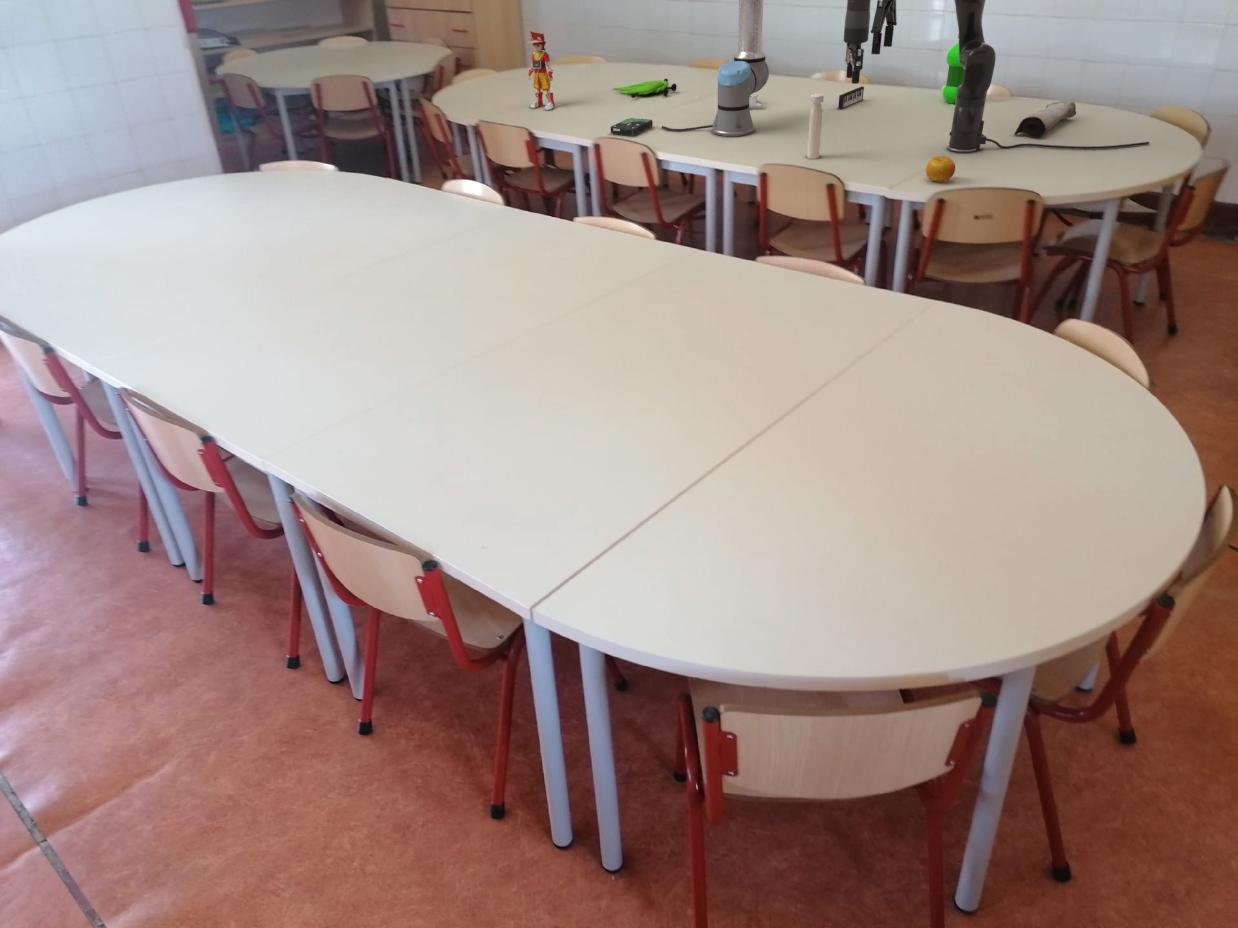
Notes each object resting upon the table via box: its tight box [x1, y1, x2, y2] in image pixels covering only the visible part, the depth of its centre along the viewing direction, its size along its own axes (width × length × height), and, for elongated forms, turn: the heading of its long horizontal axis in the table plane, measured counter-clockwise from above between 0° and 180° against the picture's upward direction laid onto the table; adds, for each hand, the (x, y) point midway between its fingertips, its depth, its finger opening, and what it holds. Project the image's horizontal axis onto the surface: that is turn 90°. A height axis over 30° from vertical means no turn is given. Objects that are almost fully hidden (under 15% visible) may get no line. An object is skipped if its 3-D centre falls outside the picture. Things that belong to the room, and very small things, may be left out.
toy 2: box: [612, 78, 677, 99], centre depth 396 cm, size 28×5×30 cm
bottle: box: [806, 103, 824, 160], centre depth 300 cm, size 4×4×20 cm
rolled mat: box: [1014, 100, 1077, 139], centre depth 318 cm, size 30×9×10 cm
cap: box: [810, 93, 825, 104], centre depth 294 cm, size 4×4×2 cm
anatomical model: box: [749, 94, 763, 110], centre depth 365 cm, size 15×10×10 cm
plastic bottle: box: [942, 34, 965, 104], centre depth 348 cm, size 10×10×25 cm
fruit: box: [925, 155, 956, 183], centre depth 276 cm, size 8×8×8 cm
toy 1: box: [527, 31, 556, 111], centre depth 374 cm, size 12×9×30 cm
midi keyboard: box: [837, 85, 865, 110], centre depth 359 cm, size 18×1×5 cm, turn 138°
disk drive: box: [610, 117, 653, 136], centre depth 344 cm, size 10×3×15 cm
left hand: (881, 50), depth 308 cm, fingers open, 13 cm apart
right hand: (852, 80), depth 288 cm, fingers open, 8 cm apart
